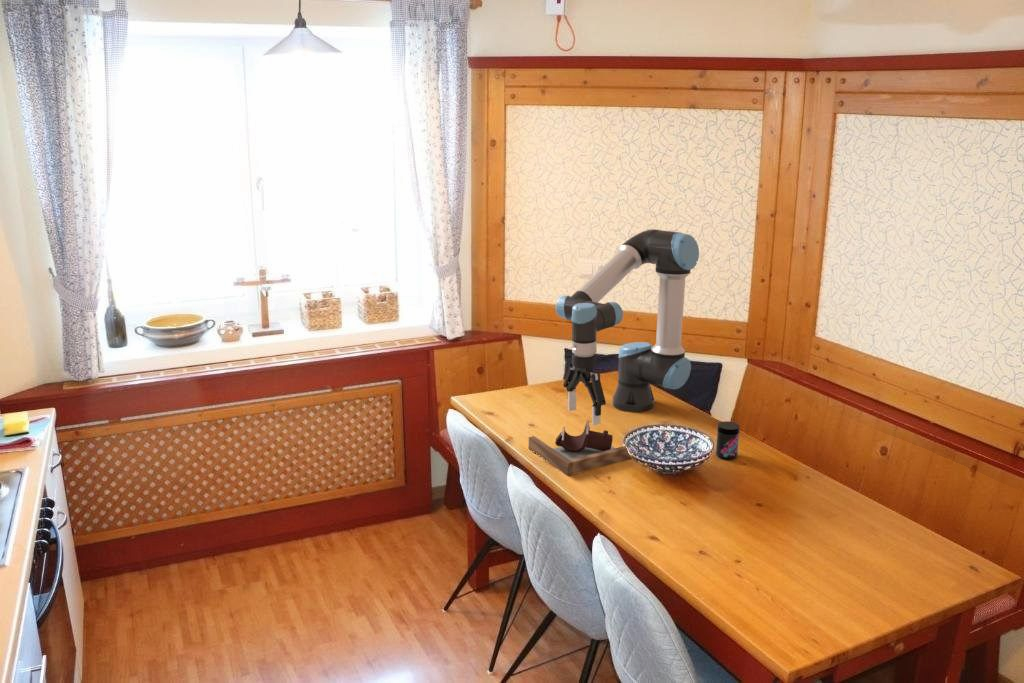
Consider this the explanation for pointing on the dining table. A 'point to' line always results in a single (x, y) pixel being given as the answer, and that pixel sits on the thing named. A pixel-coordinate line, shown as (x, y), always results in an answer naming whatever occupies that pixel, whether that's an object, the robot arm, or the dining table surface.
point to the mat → (579, 454)
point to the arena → (580, 462)
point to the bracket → (585, 440)
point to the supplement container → (727, 440)
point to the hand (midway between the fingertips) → (583, 417)
